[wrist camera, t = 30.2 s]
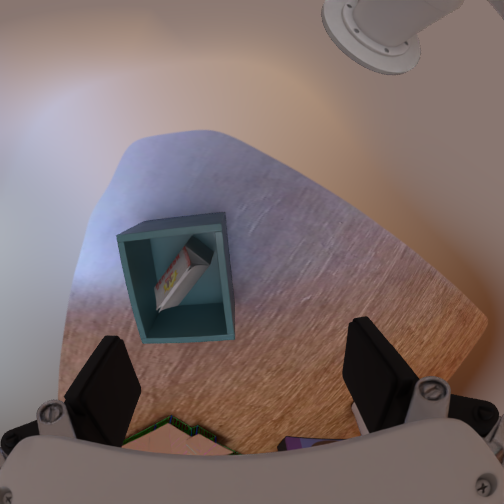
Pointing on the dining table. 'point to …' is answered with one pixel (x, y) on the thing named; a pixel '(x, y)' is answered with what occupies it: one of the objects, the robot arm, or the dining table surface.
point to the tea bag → (182, 273)
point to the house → (176, 441)
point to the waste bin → (201, 294)
